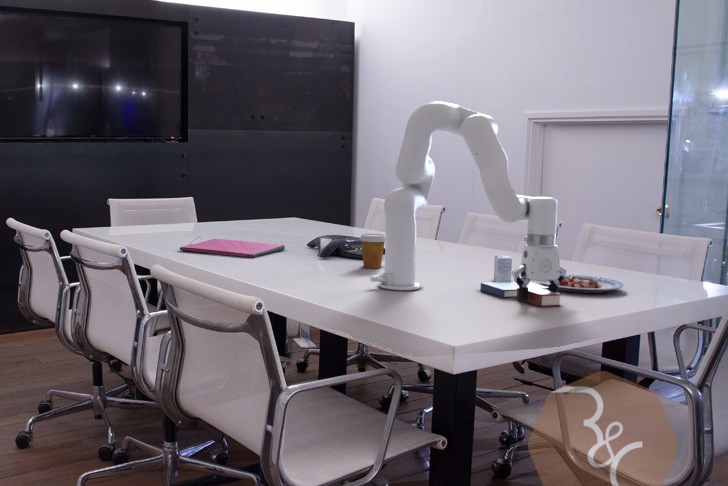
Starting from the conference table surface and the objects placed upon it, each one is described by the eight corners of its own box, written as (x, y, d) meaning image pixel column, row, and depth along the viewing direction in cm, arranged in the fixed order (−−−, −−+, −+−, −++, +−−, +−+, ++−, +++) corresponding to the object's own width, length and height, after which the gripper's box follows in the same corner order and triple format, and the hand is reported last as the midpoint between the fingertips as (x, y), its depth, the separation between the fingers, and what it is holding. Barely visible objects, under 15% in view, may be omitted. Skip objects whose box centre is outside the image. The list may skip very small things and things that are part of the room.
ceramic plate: (516, 283, 250) (517, 274, 250) (576, 279, 260) (577, 270, 259) (579, 298, 227) (580, 288, 226) (642, 292, 236) (643, 283, 236)
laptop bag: (285, 241, 327) (252, 249, 305) (285, 250, 328) (252, 259, 305) (208, 234, 349) (172, 241, 326) (208, 243, 349) (172, 251, 327)
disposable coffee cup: (389, 266, 286) (390, 234, 284) (379, 269, 278) (380, 237, 276) (365, 264, 291) (365, 232, 289) (355, 267, 283) (355, 235, 281)
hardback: (503, 298, 227) (503, 290, 226) (480, 290, 238) (480, 282, 238) (549, 295, 230) (550, 287, 230) (525, 288, 242) (525, 280, 242)
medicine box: (511, 285, 248) (512, 258, 247) (496, 284, 249) (498, 258, 248) (507, 281, 256) (508, 255, 255) (493, 280, 257) (494, 254, 256)
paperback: (540, 307, 214) (541, 294, 214) (516, 299, 225) (517, 287, 224) (560, 306, 216) (560, 293, 215) (535, 298, 226) (536, 286, 226)
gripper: (522, 242, 212) (519, 303, 215) (576, 241, 217) (572, 300, 219) (506, 239, 220) (503, 298, 222) (558, 238, 224) (555, 295, 226)
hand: (537, 299), depth 220 cm, fingers open, 9 cm apart
